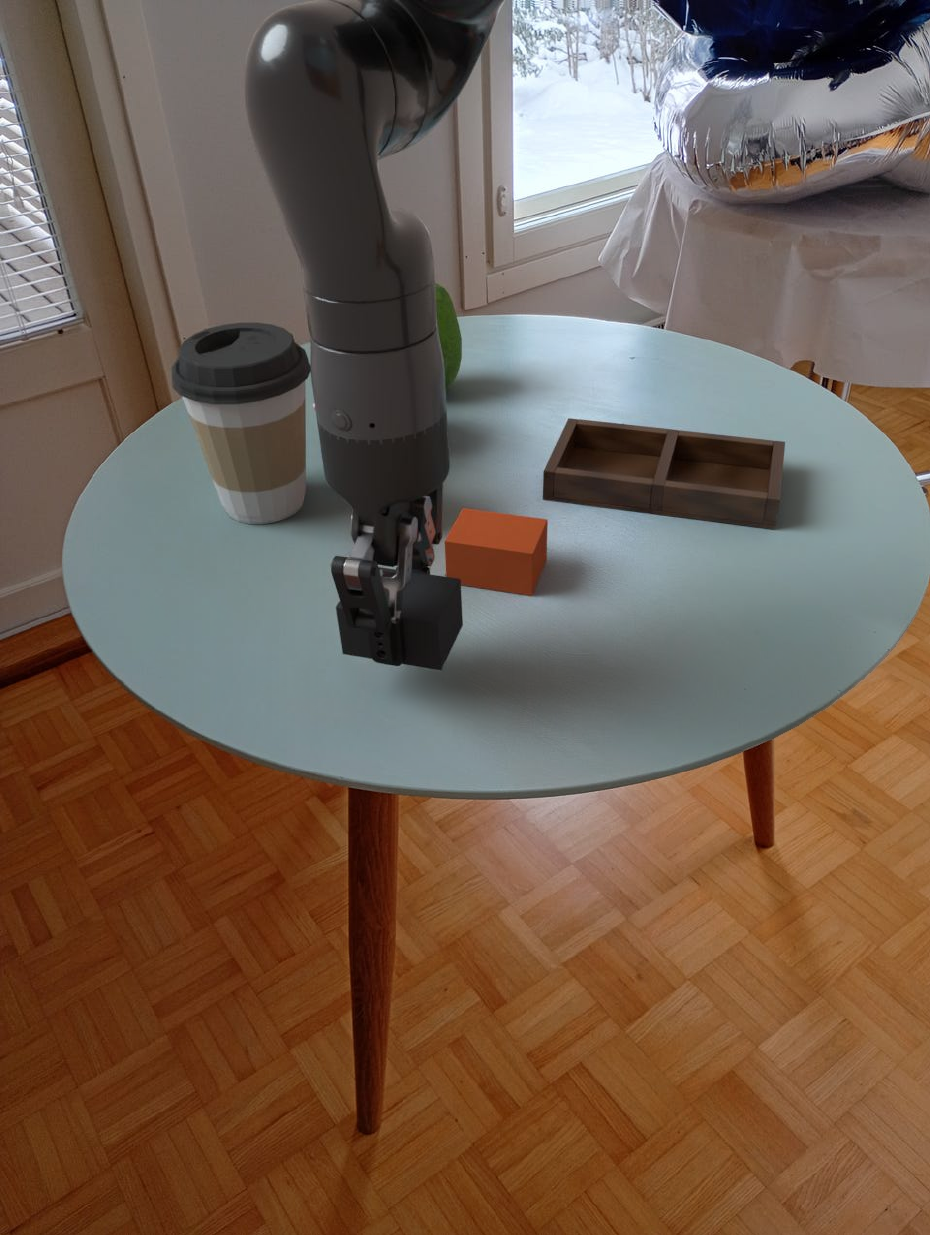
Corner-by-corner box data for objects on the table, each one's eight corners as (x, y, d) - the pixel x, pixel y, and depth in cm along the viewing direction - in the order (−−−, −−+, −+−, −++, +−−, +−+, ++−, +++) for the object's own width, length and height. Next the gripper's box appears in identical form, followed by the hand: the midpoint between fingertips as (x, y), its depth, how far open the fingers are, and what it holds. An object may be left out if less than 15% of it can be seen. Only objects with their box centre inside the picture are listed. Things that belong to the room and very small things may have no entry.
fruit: (378, 386, 107) (369, 276, 100) (445, 372, 110) (440, 263, 102) (406, 416, 101) (398, 301, 94) (475, 400, 104) (473, 287, 96)
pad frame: (779, 469, 91) (785, 441, 89) (774, 529, 83) (780, 500, 81) (567, 445, 95) (568, 417, 94) (542, 499, 88) (543, 470, 86)
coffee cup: (256, 461, 94) (229, 308, 85) (353, 489, 90) (335, 331, 81) (173, 517, 87) (133, 356, 78) (275, 551, 82) (245, 384, 73)
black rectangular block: (463, 625, 68) (460, 578, 66) (441, 671, 64) (438, 623, 62) (369, 610, 70) (363, 564, 67) (342, 654, 66) (335, 607, 64)
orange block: (546, 560, 80) (547, 519, 78) (532, 596, 76) (532, 553, 74) (464, 548, 82) (463, 507, 79) (446, 583, 78) (444, 540, 76)
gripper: (400, 472, 50) (421, 715, 60) (478, 360, 61) (485, 583, 71) (267, 456, 52) (309, 695, 62) (365, 350, 63) (388, 569, 73)
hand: (403, 634), depth 67 cm, fingers closed on black rectangular block, 5 cm apart
